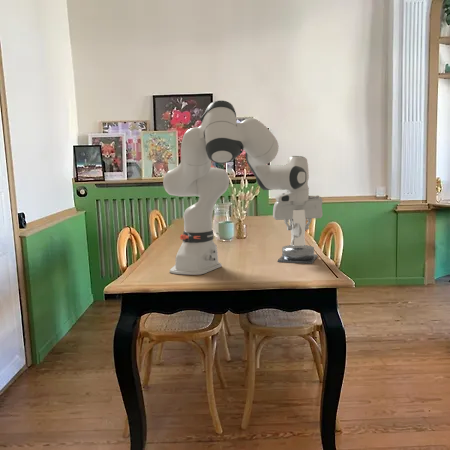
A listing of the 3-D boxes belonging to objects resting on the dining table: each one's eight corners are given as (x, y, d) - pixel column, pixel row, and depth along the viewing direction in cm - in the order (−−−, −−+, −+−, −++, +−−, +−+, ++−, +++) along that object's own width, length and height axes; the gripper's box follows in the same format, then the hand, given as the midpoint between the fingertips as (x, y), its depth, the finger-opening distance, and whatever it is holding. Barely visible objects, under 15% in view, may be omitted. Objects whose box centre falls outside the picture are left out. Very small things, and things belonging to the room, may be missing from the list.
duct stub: (312, 263, 193) (312, 251, 192) (277, 261, 198) (277, 250, 197) (317, 256, 206) (317, 245, 205) (285, 254, 211) (285, 244, 210)
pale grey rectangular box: (297, 243, 205) (297, 207, 203) (310, 245, 200) (309, 208, 198) (285, 245, 201) (285, 209, 199) (298, 247, 196) (297, 210, 194)
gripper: (320, 194, 202) (319, 227, 204) (271, 196, 200) (272, 229, 202) (324, 196, 196) (324, 229, 198) (275, 197, 194) (275, 232, 196)
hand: (297, 229), depth 200 cm, fingers closed on pale grey rectangular box, 6 cm apart
